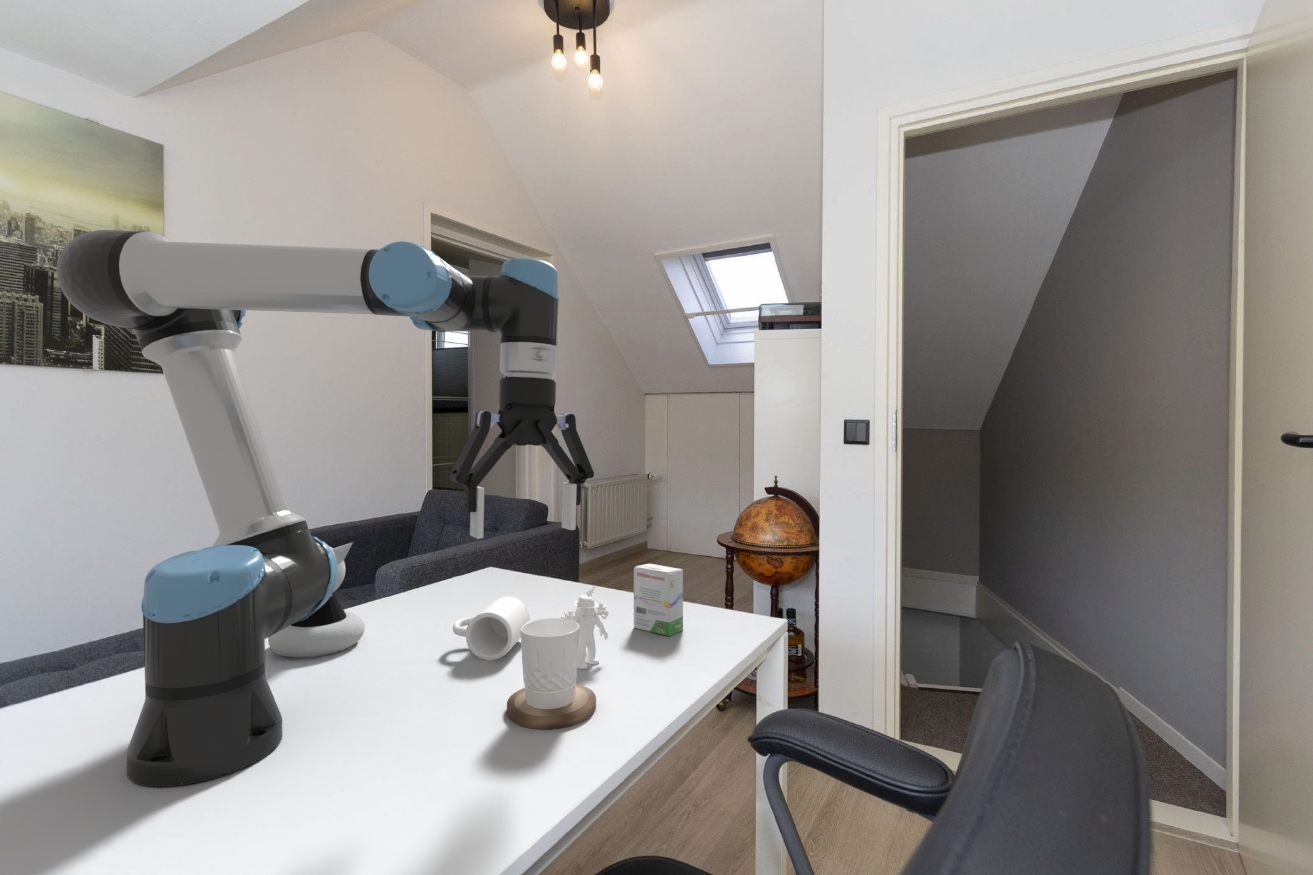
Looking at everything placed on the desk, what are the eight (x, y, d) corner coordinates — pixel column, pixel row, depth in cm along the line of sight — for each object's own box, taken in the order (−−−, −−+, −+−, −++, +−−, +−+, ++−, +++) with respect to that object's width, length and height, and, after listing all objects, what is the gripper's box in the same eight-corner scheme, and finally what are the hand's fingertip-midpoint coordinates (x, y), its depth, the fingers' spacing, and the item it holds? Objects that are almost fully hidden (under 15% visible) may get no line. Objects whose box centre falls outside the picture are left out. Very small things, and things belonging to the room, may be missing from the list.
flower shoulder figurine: (598, 653, 109) (598, 583, 109) (614, 659, 106) (614, 587, 106) (556, 668, 103) (556, 593, 102) (572, 675, 100) (572, 598, 100)
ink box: (684, 630, 122) (684, 567, 121) (668, 637, 118) (669, 572, 117) (648, 621, 127) (648, 561, 126) (632, 628, 123) (632, 566, 122)
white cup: (591, 698, 89) (591, 626, 88) (544, 718, 83) (544, 640, 83) (555, 682, 94) (555, 614, 94) (509, 699, 88) (509, 627, 88)
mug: (530, 641, 116) (530, 596, 115) (512, 661, 106) (512, 613, 105) (465, 638, 117) (465, 594, 117) (441, 658, 107) (441, 611, 107)
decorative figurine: (370, 629, 122) (369, 523, 121) (357, 657, 107) (355, 537, 107) (282, 636, 117) (280, 526, 117) (256, 666, 103) (254, 541, 103)
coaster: (531, 738, 80) (531, 728, 80) (492, 704, 90) (492, 695, 90) (612, 712, 87) (612, 703, 87) (568, 683, 97) (568, 674, 97)
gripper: (446, 369, 77) (442, 545, 78) (620, 381, 92) (616, 529, 93) (426, 372, 83) (423, 535, 84) (592, 382, 98) (589, 521, 99)
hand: (524, 532), depth 89 cm, fingers open, 13 cm apart
